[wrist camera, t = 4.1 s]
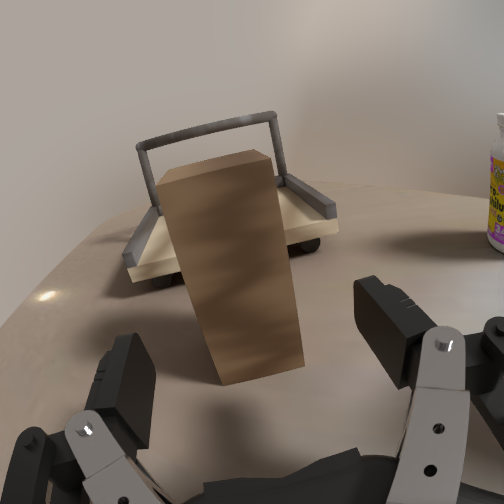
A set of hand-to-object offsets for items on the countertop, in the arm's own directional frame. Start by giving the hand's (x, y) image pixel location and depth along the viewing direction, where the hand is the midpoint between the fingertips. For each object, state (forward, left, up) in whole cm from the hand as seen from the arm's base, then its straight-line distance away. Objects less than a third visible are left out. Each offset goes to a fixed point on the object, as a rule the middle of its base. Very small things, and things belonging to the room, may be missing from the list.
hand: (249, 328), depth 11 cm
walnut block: (0, +7, -7) cm, 10 cm away
